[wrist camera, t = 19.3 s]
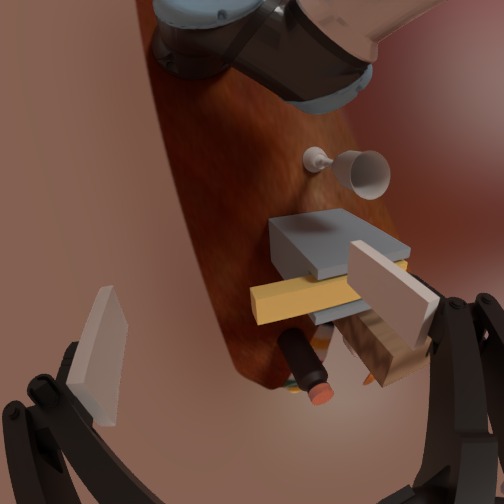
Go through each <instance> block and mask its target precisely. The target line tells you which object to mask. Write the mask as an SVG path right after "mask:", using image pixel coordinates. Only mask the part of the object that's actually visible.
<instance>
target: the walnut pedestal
mask: <svg viewBox="0 0 504 504" xmlns="http://www.w3.org/2000/svg"><path fill="white" fill-rule="evenodd" d="M332 322H333V323H334V325H335V326H336V327H337V328H338V330H339V331H340V332H341V334H342V335H343V336H344V338H345V339H346V340H347V342H348V343H349V344H350V346H351V347H352V348H353V349H354V351H355V352H356V353H357V355H358V356H359V357H360V359H361V360H362V361H363V363H364V364H365V365H366V367H367V368H368V369H369V371H370V372H371V373H372V375H373V376H374V378H375V379H376V380H377V382H378V383H379V384H380V385H381V387H382V388H383V387H385V386H387V385H389V384H391V383H393V382H395V381H397V380H399V379H401V378H403V377H405V376H407V375H409V374H411V373H413V372H415V371H417V370H418V369H420V368H422V367H424V366H426V365H427V364H429V363H430V353H429V354H428V356H427V357H425V356H426V352H427V350H428V348H429V345H430V343H431V340H432V339H431V338H430V337H429V336H427V338H426V341H425V344H424V345H423V346H421V347H419V348H417V349H416V350H414V351H413V350H412V349H411V348H410V347H409V346H408V345H407V344H406V343H405V342H404V341H403V340H402V339H401V338H400V337H399V336H398V335H397V334H396V332H395V331H394V330H393V329H392V328H391V327H390V326H389V325H388V324H387V323H386V322H385V321H384V320H383V319H382V318H381V317H380V316H379V315H378V314H377V313H376V312H375V311H374V310H373V309H372V308H371V309H368V310H365V311H362V312H359V313H356V314H353V315H349V316H346V317H343V318H340V319H336V320H333V321H332Z"/></svg>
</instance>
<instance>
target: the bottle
mask: <svg viewBox="0 0 504 504" xmlns="http://www.w3.org/2000/svg"><path fill="white" fill-rule="evenodd" d="M278 344H279V347H280V349H281V351H282V353H283V355H284V357H285V359H286V361H287V363H288V365H289V367H290V369H291V371H292V374H293V376H294V378H295V380H296V382H297V384H298V386H299V388H300V389H301V390H303V391H307V392H308V396H309V398H310V400H311V402H312V404H314V405H320V404H323V403H325V402H327V401H329V400H330V399H331V398H332V396H333V394H334V392H333V390H332V389H331V387H330V385H329V384H328V383H327V382H326V381H327V378H328V374H327V371H326V370H325V368H324V366H323V365H322V363H321V361H320V360H319V358H318V356H317V355H316V353H315V351H314V350H313V348H312V346H311V345H310V343H309V342H308V340H307V338H306V337H305V335H304V333H303V332H302V331H301V330H299V329H289V330H287V331H285V332H284V333H283V334H282V335H281V336H280V337H279V340H278Z"/></svg>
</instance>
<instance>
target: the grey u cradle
mask: <svg viewBox="0 0 504 504" xmlns="http://www.w3.org/2000/svg"><path fill="white" fill-rule="evenodd" d="M268 220H269V236H270V252H271V262H272V263H273V265H274V266H275V267H276V269H277V270H278V272H279V273H280V275H281V276H282V278H283V279H284V280H289V279H294V278H299V277H303V276H308V275H312V274H313V275H314V277H315V278H316V279H317V280H321V279H325V278H330V277H334V276H338V275H342V274H346V273H348V262H349V248H350V242H352V241H357V240H362V241H363V242H365V243H366V244H368V245H369V246H370V247H372V248H373V249H375V250H376V251H378V252H379V253H381V254H382V255H383V256H385V257H386V258H388V259H389V260H390V261H392V262H394V261H397V260H401V259H405V258H408V257H409V256H410V250H411V248H410V247H408V246H406V245H405V244H403V243H401V242H400V241H398V240H396V239H395V238H393V237H391V236H390V235H388V234H386V233H385V232H383V231H381V230H379V229H378V228H376V227H374V226H373V225H371V224H369V223H367V222H365V221H364V220H362V219H360V218H358V217H356V216H355V215H353V214H351V213H349V212H347V211H345V210H344V209H342V208H340V209H333V210H325V211H318V212H311V213H303V214H296V215H290V216H283V217H276V218H269V219H268ZM368 309H371V307H370V306H369V305H368V304H367V303H366V302H365V301H364V300H363V299H362V298H361V299H357V300H354V301H351V302H347V303H344V304H340V305H337V306H333V307H329V308H326V309H322V310H318V311H315V312H311V313H307V314H308V315H309V317H310V318H311V320H312V321H313V323H314V324H315V325H319V324H322V323H326V322H329V321H333V320H336V319H340V318H343V317H346V316H349V315H353V314H356V313H359V312H362V311H365V310H368Z"/></svg>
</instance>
